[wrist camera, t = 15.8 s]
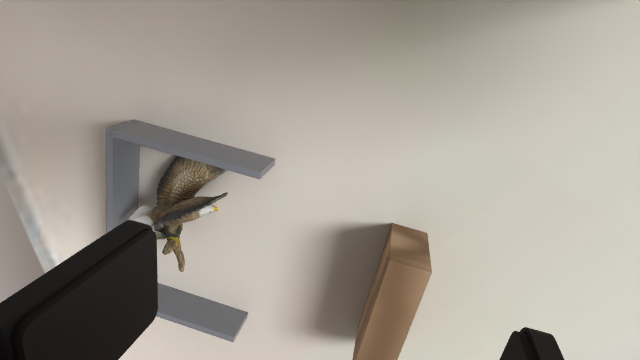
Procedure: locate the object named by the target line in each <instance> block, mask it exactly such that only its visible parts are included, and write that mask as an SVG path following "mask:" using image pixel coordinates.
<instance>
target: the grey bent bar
mask: <svg viewBox="0 0 640 360" xmlns="http://www.w3.org/2000/svg"><path fill="white" fill-rule="evenodd" d="M140 145H141V146H145V147H149V148H152V149H156V150H159V151H163V152H166V153H170V154H173V155H177V156H180V157H184V158H187V159H191V160H194V161H198V162H201V163H205V164H208V165H212V166H215V167H219V168H222V169H226V170H229V171H233V172H236V173H240V174H243V175H247V176H250V177H254V178H257V179H261V178H262V177H263V176H264V175H265V174H266V173H267V172H268V171H269V170H270V169H271V168H272V167H273V166H274V163H275V159H274V158H270V157H266V156H263V155H259V154H256V153H252V152H248V151H245V150H241V149H237V148H234V147H230V146H227V145H223V144H219V143H216V142H212V141H209V140H205V139H201V138H198V137H194V136H191V135H187V134H183V133H180V132H176V131H173V130H169V129H165V128H162V127H158V126H154V125H151V124H147V123H144V122H140V121H136V120H132V121H129V122H126V123H122V124H119V125H116V126H112V127H109V128H106V223H107V233H108V232H109V231H111V230H112V229H114V228H115V227H117V226H118V225H120V224H122V223H123V222H125V221H127V220H129V218H130V216H131V215H132V214H134V212H135V211H136V210H137V209H138V180H139V148H140ZM156 316H157V317H160V318H163V319H166V320H169V321H172V322H175V323H178V324H181V325H184V326H187V327H190V328H193V329H196V330H199V331H201V332H204V333H207V334H210V335H213V336H216V337H219V338H222V339H225V340H228V341H231V342H234V340H235V338H236V336H237V335H238V333H239V331H240V329H241V328H242V326H243V324H244V322H245V320H246V319H247V316H248V313H247V312H244V311H241V310H238V309H235V308H232V307H229V306H226V305H222V304H219V303H216V302H213V301H210V300H207V299H204V298H201V297H198V296H195V295H192V294H189V293H186V292H183V291H180V290H177V289H174V288H171V287H168V286H165V285H162V284H159V283H158V311H157V314H156Z"/></svg>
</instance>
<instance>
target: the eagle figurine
mask: <svg viewBox="0 0 640 360" xmlns="http://www.w3.org/2000/svg"><path fill="white" fill-rule="evenodd" d="M225 171H226V169H222V168H219V167H215V166H212V165H208V164H205V163H201V162H198V161H194V160H191V159H187V158H184V157H180V156H177V157H176V158H175V160H174V161H173V162H172V163H171V164H170V166H169V168H168V169H167V171H166V172H165V173H164V176H162V178H161V180H160V183H159V186H158V188H157V191H158V192H157V196H158V197H157V200H158V202H157V205H158V206H157V207H156V208H155V207H151V206H147V205H143V206H141V207H139V208H138V209H137V210H136V211H135V212H134V214H132V215H131V216H130V218H129V220H133V221H137V222H141V223H144V224H148V225H150V226H153V225H155V229H154V230H156V231H159V232H161V233H155V234H156V239H165V238H167V240H168V241H167V243H166V245H165V247H164V249H163V252H162V253H163V254H164V255H166V254H169V253H170V252H172V250H173V251H174V253H175V255H176V257H177V260H178V263H179V264H178V266H179V270H180V271H181V272H183V271H184V265H185V260H184V255H183V252H182V251H181V244H180V240H179V238H180V234H181V231H182V226H183V225H182V223H183V222H188V221H192V220H195V219H196V218H199V217H201V216H203V215H206V214H209V213H211V212H213V211H218V208H217V207H213V206H212V205H211V204H213V203H214V202H215V201H217V200H219V199H221V198H223V197H225V196H226V195H227V194H228V193H224V194H222V195H220V196H216V197H194V195H195V194H196V193H197V192H198V191H199V190H200V189H201V188H202V187H203V186H204V185H205V184H206V183H207V182H209V181H211V180H213V179H215V178H216V177H217V176H219V175H221V174H222V173H224V172H225ZM160 224H163V226H164V228H160V227H159V225H160Z"/></svg>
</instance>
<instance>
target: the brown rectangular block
mask: <svg viewBox="0 0 640 360" xmlns="http://www.w3.org/2000/svg"><path fill="white" fill-rule="evenodd" d="M431 273H432V270H431V261H430V253H429V244H428V235H427V233H425V232H421V231H418V230H414V229H411V228H408V227H404V226H401V225H397V224H394V223H392V225H391V228H390V232H389V235H388V238H387V241H386V244H385V247H384V250H383V253H382V256H381V259H380V262H379V265H378V268H377V271H376V274H375V277H374V281H373V284H372V287H371V290H370V293H369V296H368V299H367V302H366V305H365V308H364V311H363V314H362V317H361V320H360V323H359V327H358V330H357V336H356V342H355V348H354V354H353V360H397V359H398V357H399V354H400V352H401V349H402V347H403V344H404V342H405V339H406V337H407V334H408V332H409V329H410V326H411V324H412V321H413V319H414V316H415V314H416V311H417V309H418V306H419V304H420V301H421V299H422V296H423V293H424V291H425V288H426V286H427V283H428V281H429V278H430V276H431Z"/></svg>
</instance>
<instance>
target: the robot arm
mask: <svg viewBox="0 0 640 360" xmlns="http://www.w3.org/2000/svg"><path fill="white" fill-rule="evenodd" d="M157 311H158V282H157V239H156V234H155V232H153V231H152V228H151V226H150V225H148V224H144V223H141V222H137V221H133V220H127V221H125V222H123V223H122V224H120V225H118V226H117V227H115V228H114V229H112V230H111V231H109V232H108V233H106V234H105V235H103V236H102V237H100V238H99V239H97V240H96V241H94V242H93V243H91V244H90V245H88V246H86V247H85V248H83V249H82V250H80V251H79V252H77V253H76V254H74V255H73V256H71V257H70V258H68V259H67V260H65V261H64V262H62V263H61V264H59V265H58V266H56V267H54V268H53V269H51V270H50V271H48V272H47V273H45V274H44V275H42V276H41V277H39V278H38V279H36V280H35V281H33V282H32V283H30V284H29V285H27V286H26V287H24V288H23V289H21V290H19V291H18V292H17V293H15V294H13V295H12V296H10V297H9V298H7V299H6V300H4V301H3V302H1V303H0V360H118V359H119V358H120V357H121V356H122V355H123V354H124V353H125V352H126V350H127V349H128V348H129V347H130V346H131V345H132V344H133V343H134V342H135V340H136V339H137V338H138V337H139V336H140V335H141V334H142V333H143V332H144V331H145V329H146V328H147V327H148V326H149V325H150V324H151V323H152V322H153V320H154V319H155V317H156V314H157ZM500 360H564V358H563V356H562V354H561V351H560V349H559V347H558V345H557V342H556V340H555V338H554V337H553V335H551V334H549V333H545V332H541V331H538V330H534V329H530V328H527V327H524V328H523V329H521V331H520V332H517V331H514V332H513V333H512V334H511V336H510V338H509V340H508V343H507V345H506V347H505V349H504V351H503V353H502V356H501V358H500Z"/></svg>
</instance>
